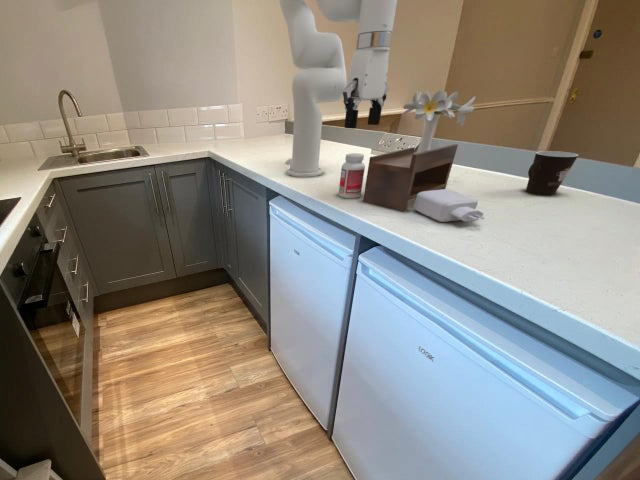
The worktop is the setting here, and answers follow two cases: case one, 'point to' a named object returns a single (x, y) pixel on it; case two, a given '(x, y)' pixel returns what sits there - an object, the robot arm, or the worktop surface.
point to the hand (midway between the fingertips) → (362, 126)
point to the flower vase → (435, 113)
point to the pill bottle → (352, 176)
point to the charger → (447, 206)
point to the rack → (407, 175)
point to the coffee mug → (549, 171)
